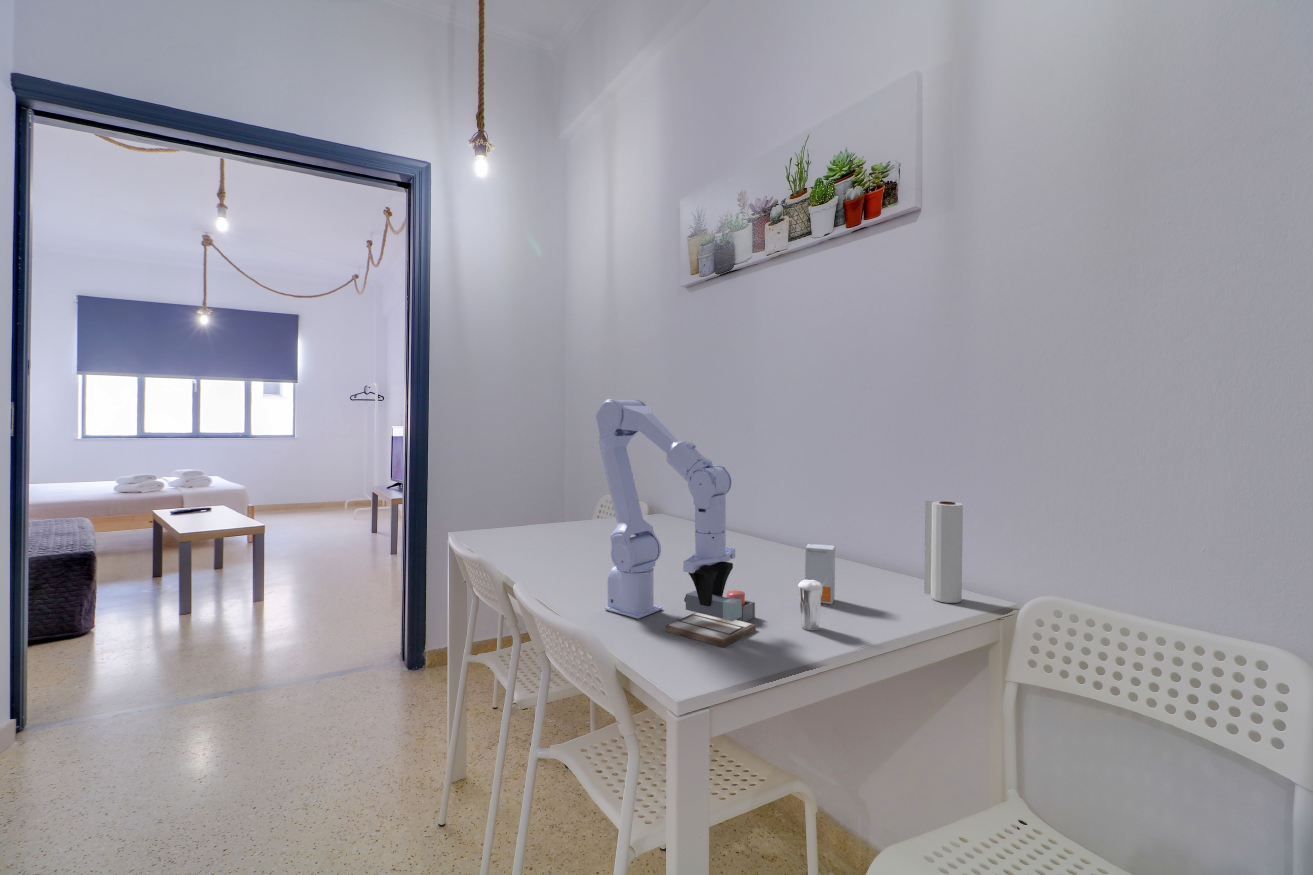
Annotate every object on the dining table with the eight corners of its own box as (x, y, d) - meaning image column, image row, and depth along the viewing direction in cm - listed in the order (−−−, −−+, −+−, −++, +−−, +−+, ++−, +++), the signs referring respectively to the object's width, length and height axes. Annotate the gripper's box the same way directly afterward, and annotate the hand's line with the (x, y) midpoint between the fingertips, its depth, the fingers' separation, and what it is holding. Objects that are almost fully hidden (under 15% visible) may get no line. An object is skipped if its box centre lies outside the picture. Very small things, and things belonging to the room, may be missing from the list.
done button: (723, 608, 120) (723, 593, 120) (732, 603, 123) (732, 589, 123) (738, 611, 118) (738, 596, 118) (748, 607, 121) (748, 592, 121)
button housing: (716, 618, 120) (716, 603, 120) (731, 611, 125) (731, 596, 125) (740, 624, 117) (740, 609, 117) (755, 616, 121) (755, 602, 121)
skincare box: (804, 601, 131) (804, 547, 130) (807, 596, 135) (807, 543, 134) (833, 604, 128) (833, 549, 128) (835, 599, 132) (835, 545, 132)
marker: (681, 608, 116) (681, 592, 116) (690, 604, 118) (690, 588, 118) (732, 621, 109) (732, 603, 109) (741, 616, 111) (741, 599, 111)
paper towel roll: (966, 604, 129) (968, 504, 128) (937, 603, 129) (939, 504, 128) (951, 593, 136) (952, 499, 135) (924, 593, 136) (925, 499, 135)
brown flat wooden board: (665, 630, 114) (665, 624, 113) (699, 615, 122) (699, 609, 122) (723, 647, 105) (723, 640, 105) (755, 629, 114) (755, 623, 114)
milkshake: (822, 634, 111) (823, 580, 111) (794, 629, 114) (794, 576, 114) (829, 627, 115) (830, 575, 115) (802, 622, 118) (802, 571, 118)
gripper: (706, 540, 105) (706, 617, 105) (748, 527, 116) (748, 597, 117) (673, 535, 109) (674, 609, 110) (718, 523, 121) (718, 590, 121)
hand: (710, 602), depth 113 cm, fingers closed on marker, 3 cm apart
